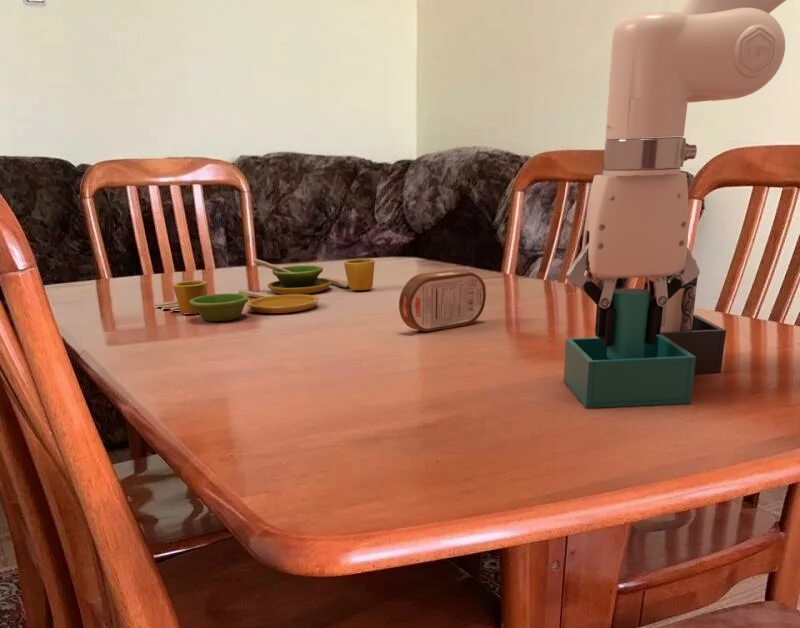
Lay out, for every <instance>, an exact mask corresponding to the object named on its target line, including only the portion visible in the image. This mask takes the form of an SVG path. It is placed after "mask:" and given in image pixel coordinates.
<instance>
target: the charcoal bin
mask: <svg viewBox="0 0 800 628" xmlns="http://www.w3.org/2000/svg"><path fill="white" fill-rule="evenodd" d="M660 334H662V335H663V336H665V337H666V338H668V339H669V340H671V341H673V342H674V343H676V344H677V345H679V346H680V347H682V348H683V349H685V350H686V351H688V352H689V353H691V354H692V355H694V356H695V357H696V362H695V371H694V375H696V374H697V375H699V374H715V373H716V374H718V373H722V367H723V360H724V359H723V357H724V352H725V351H724V350H725V343H726V337H727V330H726V329H725V328H722V327H721V326H719V325H717V324H715V323H713V322H711V321H709V320H707V319H706V318H703V317H702V316H700V315H698V314H693V323H692V331H678V332H660ZM660 334H659V335H660Z"/></svg>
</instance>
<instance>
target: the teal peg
mask: <svg viewBox="0 0 800 628" xmlns="http://www.w3.org/2000/svg"><path fill="white" fill-rule="evenodd" d="M649 300H650V291H648V289H644V288H631V287H629V288H628V287H627V288H615V289H614V293H613V296H612V300H611V302H612V308H613V309H615V318H614V331H613V343H612V345H610V346H607V357H608V358H610V359H632V358H644V353H645V342H646V332H647V321H648V311H649Z"/></svg>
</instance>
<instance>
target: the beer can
mask: <svg viewBox="0 0 800 628" xmlns="http://www.w3.org/2000/svg"><path fill="white" fill-rule="evenodd" d="M693 259H694V261H695V263H696V265H697V267H698V269H699V270H700V267H699V266H698V263H697V259H695V258H694V257H693ZM675 275H676V274H675ZM673 276H674V275H672V276H666V280H667V279H668V278H670V277H673ZM698 279H699V275H698V276H697V277H696V278H695V279H693V280H692V281H690V282H689V283H687V284H686V285H683V286H682V287H681V288H680V289H679V290H678V291H677V292H676V293H675V294H674V295H673V296H672V297H671V298H670V299H669V300H668V303H667V304H666V305H665V306H663V311H662V321H661V331H660V332H678V331H692V323H693V315H695V314H694V313H695V303H696V296H697V295H696V294H697V287H698Z"/></svg>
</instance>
